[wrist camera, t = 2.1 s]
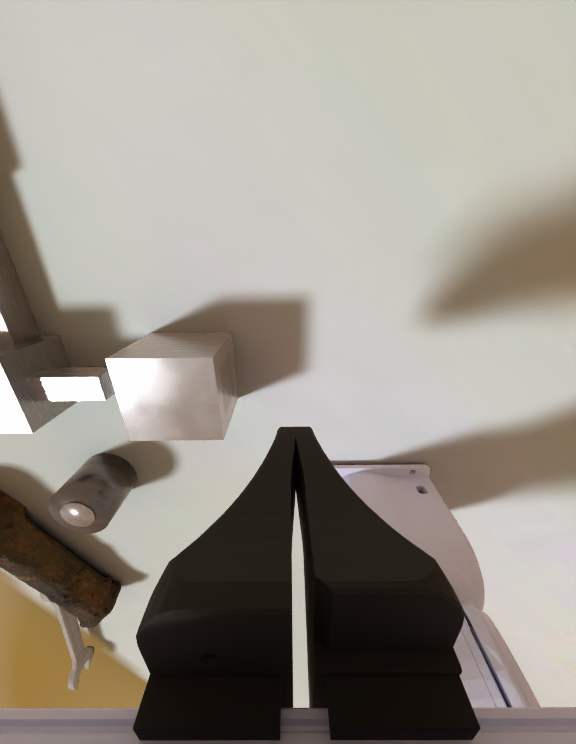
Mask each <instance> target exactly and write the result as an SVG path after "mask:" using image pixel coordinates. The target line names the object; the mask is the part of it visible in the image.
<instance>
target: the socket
mask: <svg viewBox="0 0 576 744" xmlns="http://www.w3.org/2000/svg"><path fill="white" fill-rule="evenodd" d="M136 480H137V476H136V472H135V470H134V468H133V467H132V466H131V465H130V464H129V463H128V462H127V461H126V460H124V459H122V458H121V457H118V456H116V455H112V454H97V455H94V456H92V457H91V458H89V459H88V460H87V461H86V462H85V463H84V464H83V465H82V466H81V467H80V469H79V470H78V471H77V472H76V473H75V474H74V475H73V476H72V477H71V478H70V479H69V480H68V481H67V482H66V483H65V484H64V485H63V486H62V487H61V488H60V489H59V490H58V491H57V492H56V493H55V494H54V495H53V496H52V497H51V498H50V500H49V502H48V510H49V513H50V515H51V516H52V518H53V519H54V520H55V521H56V522H57V523H59V524H60V525H62V526H63V527H65V528H67V529H69V530H72V531H75V532H79V533H96V532H99V531H101V530H103V529H105V528H106V527H107V525H108V524H109V522H110V521H111V519H112V518H113V516H114V515H115V513H116V512H117V510H118V509H119V507H120V506H121V504H122V503H123V501H124V500H125V498H126V497H127V495H128V494H129V492H130V491H131V489H132V488H133V486H134V485H135V483H136Z"/></svg>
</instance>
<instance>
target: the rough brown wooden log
mask: <svg viewBox="0 0 576 744" xmlns="http://www.w3.org/2000/svg"><path fill="white" fill-rule="evenodd" d="M26 511H27V510H26V507H25V506H23V505H22V504H21V503H19V502H18V501H16V500H15V499H13V498H12V497H10V496H9V495H7V494H5V493H4V492H2V491H0V567H1V568H3V569H5V570H6V571H8V572H9V573H10V574H12V575H14V576H15V577H17V578H18V579H20V580H21V581H23V582H25V583H26V584H28V585H29V586H31V587H32V588H34V589H36V590H37V591H39V592H40V593H42V594H44V595H45V596H46V597H47V598H48V599H49V600H50V601H51V602H53V603H56V604H57V605H58V606H60V607H62V608H63V609H64V610H65V611H66V612H68V613H70V614H72V615H73V616H75V617H77V618H78V620H79V622H80V626H81V627H82V628H84V627H87V628H88V627H92V628H93V627H95V626H96V625H97V624H99V623H100V621H101V620H102V619H103V618H104V617H106V616H107V615H108V614H109V613H110V612H111V611H112V609H113V607H114V605H115V603H116V599H117V597H118V594H119V592H120V590H121V584H120V583H112V580H111V576H108V577H103V576H102V575H100V574H99V573H97V572H96V571H95V570H94V569H92V568H91V567H89V566H88V565H87V564H85V563H84V562H82V561H81V560H80V559H79V558H77V557H76V556H75V555H73V553H72V552H70V551H69V550H67V549H66V548H64V547H63V546H62V545H60V544H59V543H58V542H57V541H55V540H54V539H52V538H51V537H49V536H48V535H47V534H45V533H44V532H43V531H41V530H40V529H38V528H37V527H36V526H35V525H34V524H33V523H32V522H31V521H29V520H28V518H27V517H26V516H25V513H26Z"/></svg>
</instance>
